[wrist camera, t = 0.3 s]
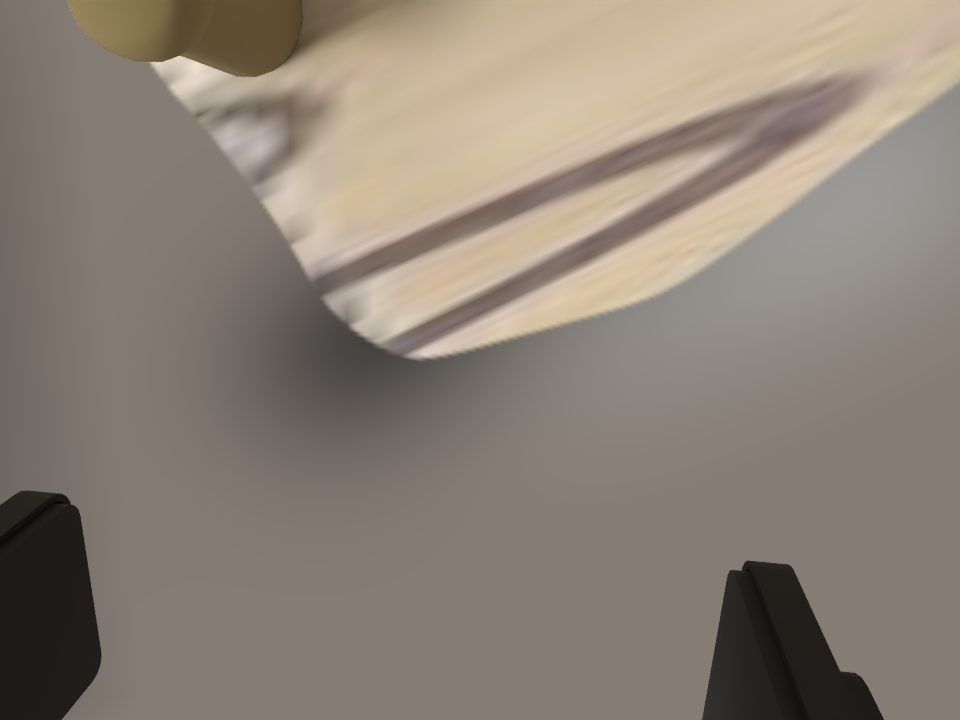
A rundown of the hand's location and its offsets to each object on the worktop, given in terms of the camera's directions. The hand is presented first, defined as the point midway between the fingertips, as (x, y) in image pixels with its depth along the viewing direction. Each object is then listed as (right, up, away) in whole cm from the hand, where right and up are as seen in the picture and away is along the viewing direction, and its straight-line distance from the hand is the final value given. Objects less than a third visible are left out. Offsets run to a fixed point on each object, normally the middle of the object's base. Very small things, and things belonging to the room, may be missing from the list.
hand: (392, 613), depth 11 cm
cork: (-10, +20, +26) cm, 35 cm away
